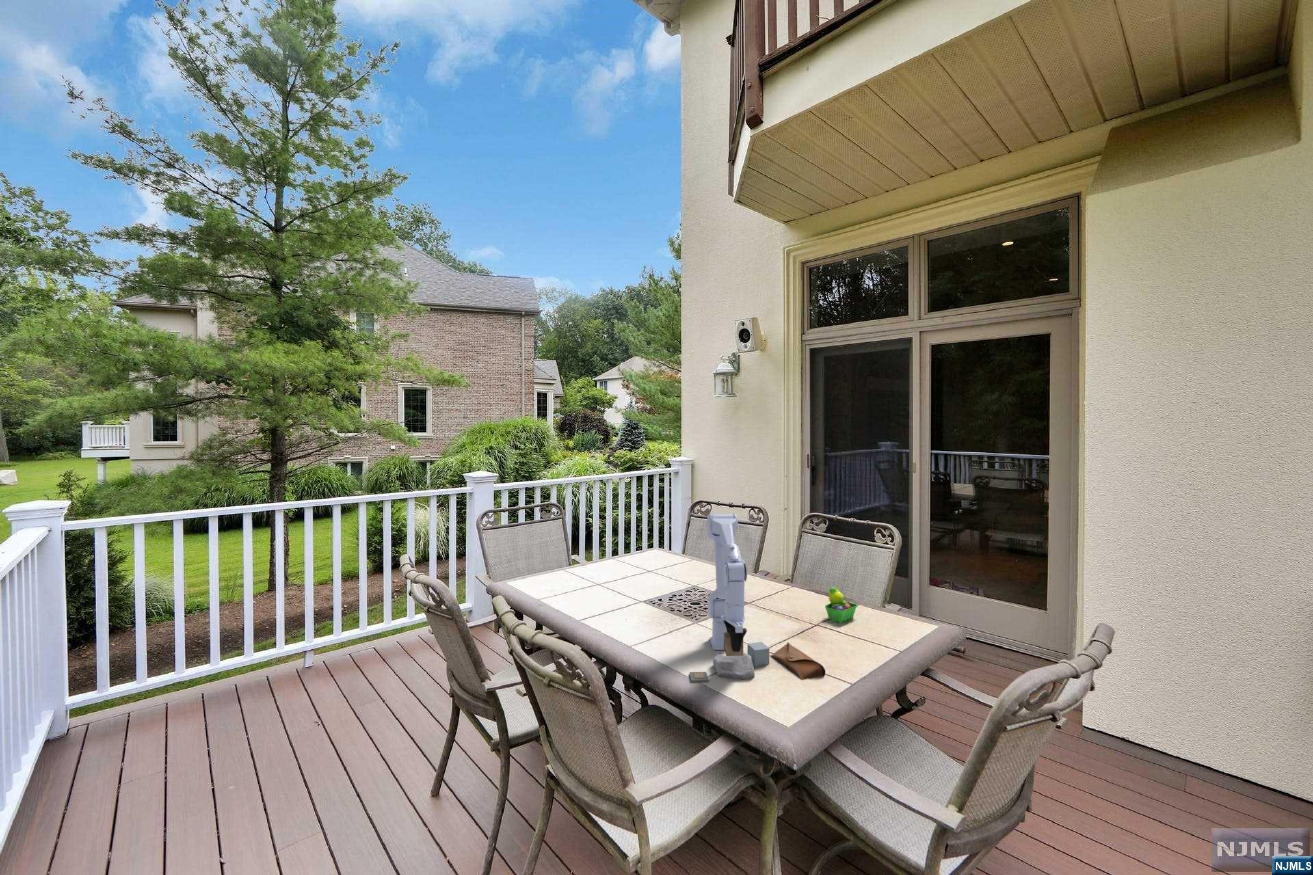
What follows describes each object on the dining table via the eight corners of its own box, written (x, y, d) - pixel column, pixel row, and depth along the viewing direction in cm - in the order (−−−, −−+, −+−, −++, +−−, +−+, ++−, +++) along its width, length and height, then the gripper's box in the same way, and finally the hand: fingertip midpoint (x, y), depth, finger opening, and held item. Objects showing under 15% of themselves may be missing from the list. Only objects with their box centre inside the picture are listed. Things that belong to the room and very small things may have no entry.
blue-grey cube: (747, 659, 166) (747, 643, 165) (761, 657, 167) (761, 641, 167) (754, 666, 161) (755, 650, 161) (769, 663, 162) (769, 648, 162)
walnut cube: (723, 648, 159) (723, 632, 159) (739, 648, 159) (739, 632, 159) (726, 655, 154) (726, 639, 154) (743, 655, 154) (743, 638, 154)
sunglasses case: (767, 655, 168) (776, 635, 169) (782, 662, 171) (791, 643, 172) (803, 680, 152) (812, 659, 153) (819, 688, 154) (828, 667, 155)
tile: (689, 673, 156) (689, 671, 156) (706, 673, 156) (706, 671, 156) (691, 682, 151) (691, 679, 151) (708, 681, 151) (708, 679, 151)
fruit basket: (841, 624, 194) (842, 594, 193) (821, 617, 200) (821, 588, 200) (858, 617, 201) (858, 588, 200) (837, 611, 208) (837, 583, 207)
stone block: (757, 684, 153) (750, 662, 163) (757, 670, 152) (750, 649, 162) (717, 687, 153) (712, 664, 162) (717, 672, 152) (712, 651, 161)
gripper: (717, 594, 163) (717, 637, 163) (725, 611, 149) (725, 658, 149) (739, 594, 163) (739, 636, 164) (750, 610, 149) (749, 657, 149)
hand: (734, 646), depth 156 cm, fingers closed on walnut cube, 5 cm apart
